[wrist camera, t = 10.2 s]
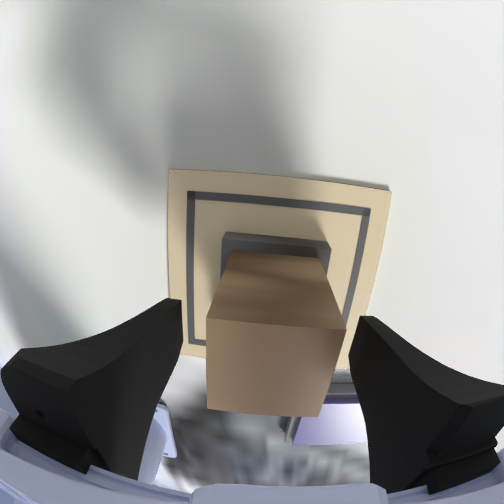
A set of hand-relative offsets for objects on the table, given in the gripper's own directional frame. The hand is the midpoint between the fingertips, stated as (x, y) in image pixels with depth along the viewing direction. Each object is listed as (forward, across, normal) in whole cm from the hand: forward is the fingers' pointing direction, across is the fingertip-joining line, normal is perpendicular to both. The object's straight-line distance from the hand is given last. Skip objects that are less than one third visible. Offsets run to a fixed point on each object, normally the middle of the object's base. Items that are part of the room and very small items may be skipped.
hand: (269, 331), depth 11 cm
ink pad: (+4, -7, +10) cm, 13 cm away
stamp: (+4, 0, 0) cm, 4 cm away
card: (+4, 0, 0) cm, 4 cm away
